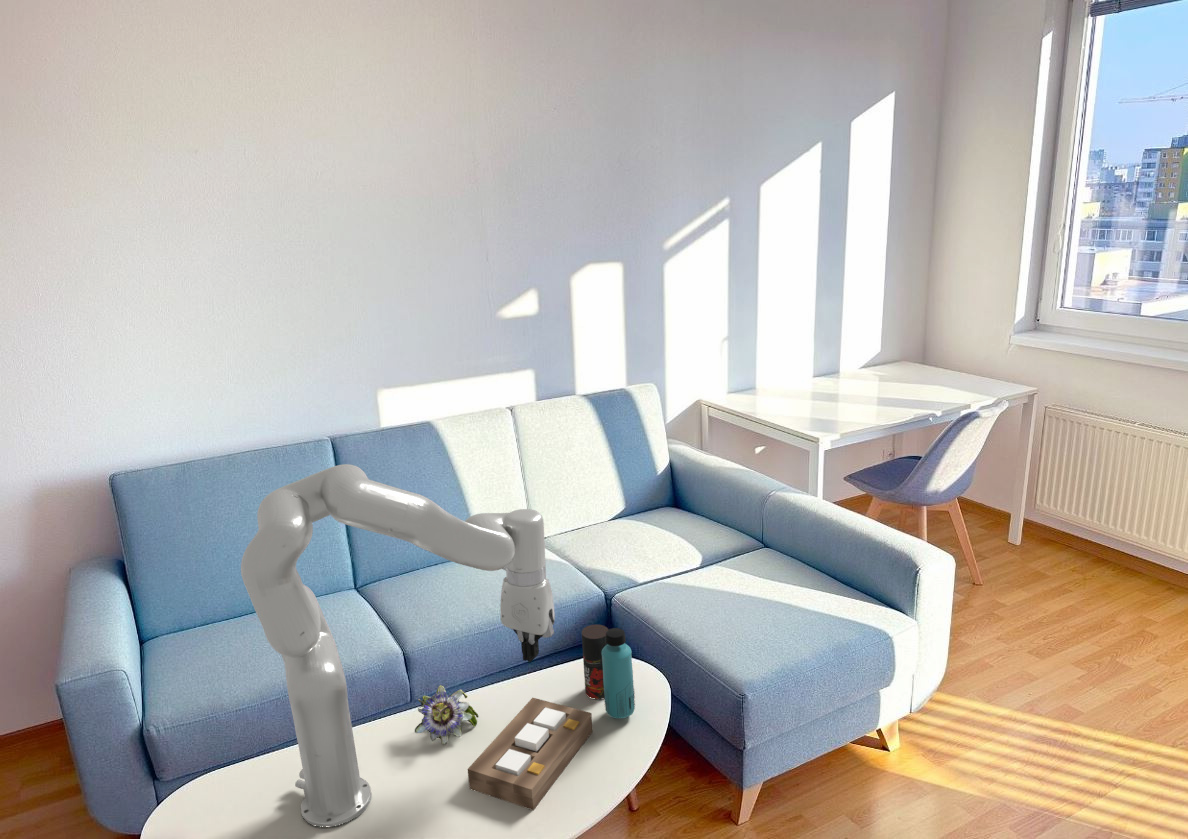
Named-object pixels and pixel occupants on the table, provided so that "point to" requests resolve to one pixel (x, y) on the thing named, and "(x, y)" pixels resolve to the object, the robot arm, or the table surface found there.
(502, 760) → the key left
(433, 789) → the table surface
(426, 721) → the passion flower
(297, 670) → the robot arm
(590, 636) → the deodorant
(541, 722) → the key right
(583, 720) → the keypad
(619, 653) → the beverage bottle
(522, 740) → the key middle
